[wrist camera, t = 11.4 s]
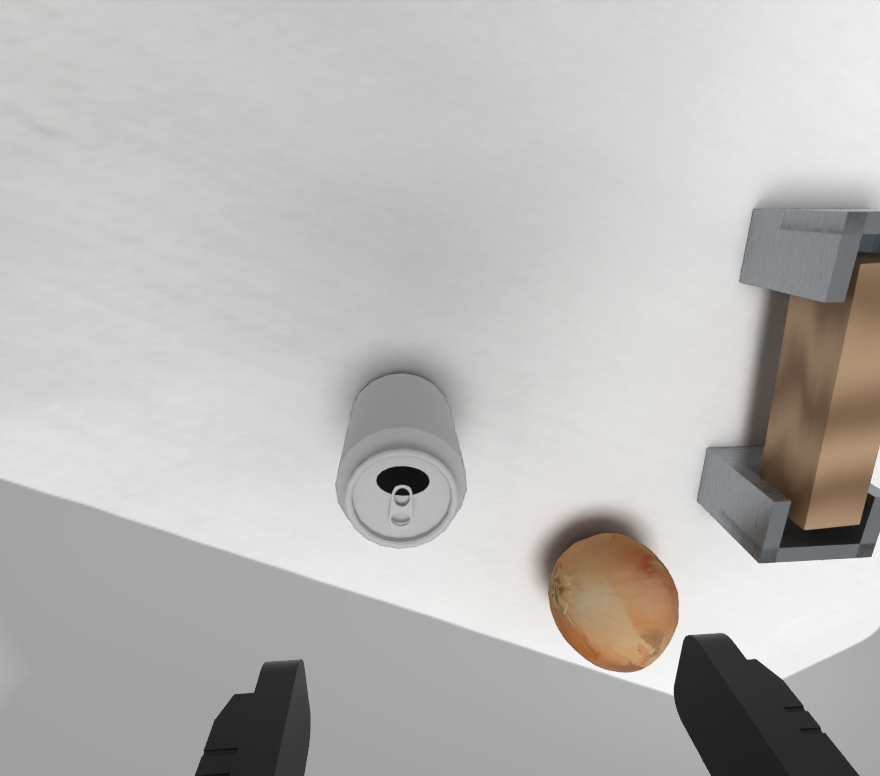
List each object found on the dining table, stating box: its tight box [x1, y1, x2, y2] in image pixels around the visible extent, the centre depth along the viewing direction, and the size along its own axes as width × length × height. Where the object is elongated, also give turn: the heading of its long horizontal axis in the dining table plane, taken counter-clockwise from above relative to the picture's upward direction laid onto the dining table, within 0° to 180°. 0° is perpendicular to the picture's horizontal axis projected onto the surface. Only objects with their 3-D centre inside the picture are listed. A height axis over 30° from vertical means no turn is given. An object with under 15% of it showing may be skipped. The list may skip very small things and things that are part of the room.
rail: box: [759, 251, 880, 530], centre depth 35 cm, size 18×4×5 cm, turn 4°
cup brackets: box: [697, 209, 880, 563], centre depth 36 cm, size 23×8×8 cm, turn 0°
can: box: [335, 373, 467, 549], centre depth 33 cm, size 8×8×12 cm
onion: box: [548, 533, 679, 672], centre depth 40 cm, size 10×10×10 cm
